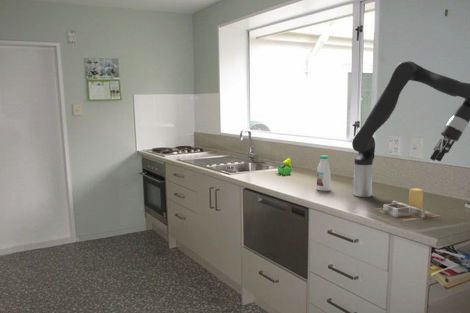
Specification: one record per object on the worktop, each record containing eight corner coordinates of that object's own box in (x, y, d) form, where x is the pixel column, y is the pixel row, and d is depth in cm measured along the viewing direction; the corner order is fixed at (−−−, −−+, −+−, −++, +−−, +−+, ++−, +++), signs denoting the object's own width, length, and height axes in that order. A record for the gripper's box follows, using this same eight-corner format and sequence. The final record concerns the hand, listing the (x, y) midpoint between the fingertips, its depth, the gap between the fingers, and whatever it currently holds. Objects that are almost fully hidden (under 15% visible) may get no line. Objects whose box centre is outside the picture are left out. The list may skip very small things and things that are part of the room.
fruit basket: (276, 173, 282) (276, 157, 281) (287, 172, 285) (287, 156, 283) (282, 175, 271) (282, 159, 270) (294, 174, 274) (294, 158, 272)
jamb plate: (372, 211, 183) (372, 201, 182) (406, 206, 190) (407, 197, 189) (404, 223, 164) (404, 213, 164) (440, 217, 171) (441, 207, 170)
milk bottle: (328, 188, 232) (328, 154, 229) (331, 191, 224) (332, 156, 221) (315, 188, 232) (315, 154, 229) (318, 191, 224) (318, 156, 221)
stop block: (408, 210, 180) (409, 189, 178) (415, 209, 181) (416, 188, 180) (415, 212, 176) (416, 190, 175) (422, 211, 178) (423, 190, 176)
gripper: (441, 125, 182) (422, 155, 184) (451, 123, 168) (431, 156, 170) (457, 133, 180) (437, 163, 182) (468, 132, 166) (447, 165, 168)
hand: (434, 160), depth 176 cm, fingers open, 8 cm apart
